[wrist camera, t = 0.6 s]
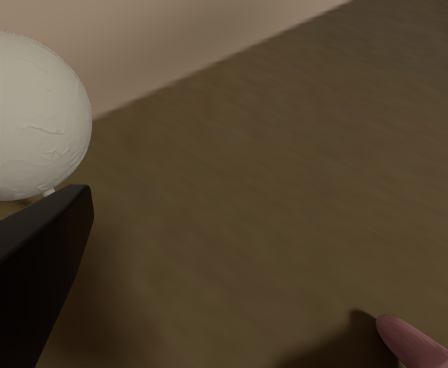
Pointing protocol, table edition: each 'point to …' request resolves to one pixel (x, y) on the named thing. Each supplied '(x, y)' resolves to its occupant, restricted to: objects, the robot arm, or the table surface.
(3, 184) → the lollipop
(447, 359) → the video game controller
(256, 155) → the table surface
